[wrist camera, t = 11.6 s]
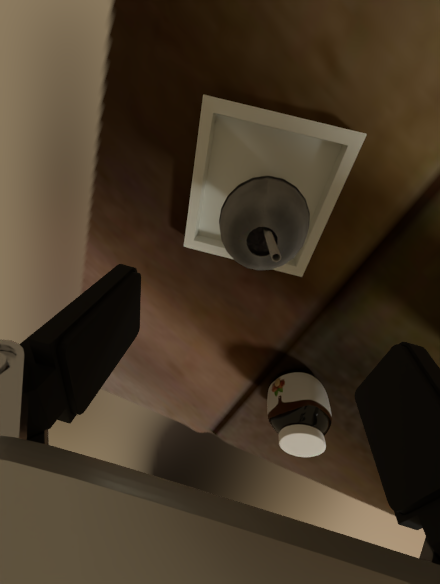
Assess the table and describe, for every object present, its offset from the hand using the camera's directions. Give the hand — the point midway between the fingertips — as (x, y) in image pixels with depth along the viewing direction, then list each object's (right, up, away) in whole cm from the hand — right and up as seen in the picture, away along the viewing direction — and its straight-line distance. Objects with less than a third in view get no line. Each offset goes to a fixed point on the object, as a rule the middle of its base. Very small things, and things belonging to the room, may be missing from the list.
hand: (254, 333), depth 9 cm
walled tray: (+4, +14, +21) cm, 25 cm away
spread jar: (+14, -17, +39) cm, 45 cm away
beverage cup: (+4, +13, +20) cm, 25 cm away
